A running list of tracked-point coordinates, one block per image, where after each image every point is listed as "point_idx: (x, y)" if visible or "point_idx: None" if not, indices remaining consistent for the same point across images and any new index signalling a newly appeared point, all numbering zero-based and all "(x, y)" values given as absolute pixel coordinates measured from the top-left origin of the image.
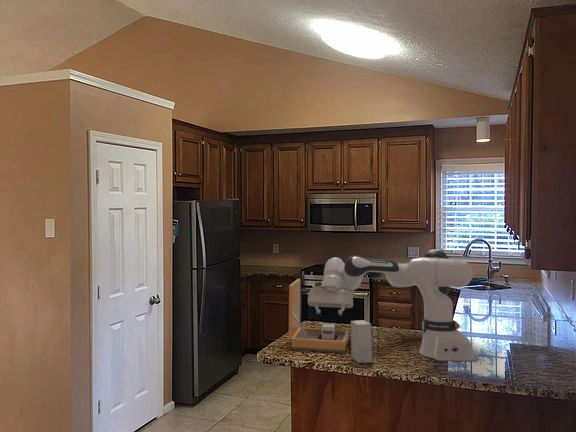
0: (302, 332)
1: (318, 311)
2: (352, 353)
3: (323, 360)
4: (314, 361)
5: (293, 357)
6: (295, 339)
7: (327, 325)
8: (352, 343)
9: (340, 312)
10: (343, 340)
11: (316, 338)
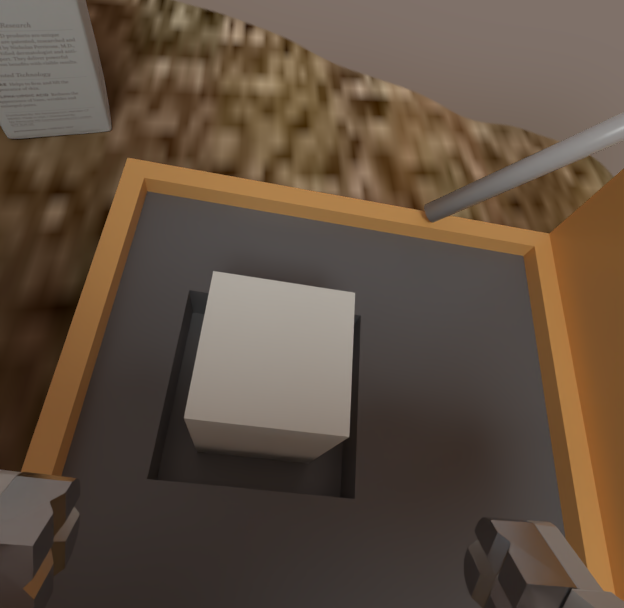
0: None
1: (524, 528)
2: (103, 77)
3: (287, 94)
4: (333, 83)
5: (449, 139)
6: (517, 230)
7: (288, 340)
8: (86, 9)
9: (4, 485)
10: (131, 193)
11: (370, 324)
